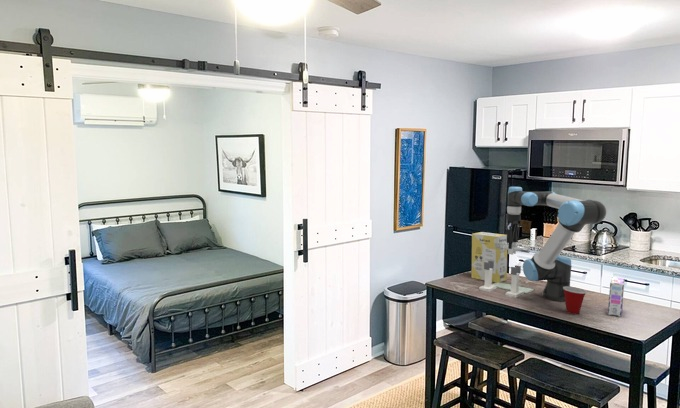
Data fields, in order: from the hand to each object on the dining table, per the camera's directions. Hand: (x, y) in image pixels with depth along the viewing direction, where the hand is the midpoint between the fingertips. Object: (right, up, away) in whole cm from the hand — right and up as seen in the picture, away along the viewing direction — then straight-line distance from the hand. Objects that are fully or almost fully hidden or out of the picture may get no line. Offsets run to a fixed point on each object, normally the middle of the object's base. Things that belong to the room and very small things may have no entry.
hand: (511, 253), depth 290 cm
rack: (-8, -21, -7) cm, 24 cm away
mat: (0, -20, +1) cm, 20 cm away
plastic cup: (+17, -25, -41) cm, 51 cm away
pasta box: (-7, -18, +21) cm, 28 cm away
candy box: (+38, -26, -40) cm, 61 cm away
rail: (0, +2, 0) cm, 2 cm away
